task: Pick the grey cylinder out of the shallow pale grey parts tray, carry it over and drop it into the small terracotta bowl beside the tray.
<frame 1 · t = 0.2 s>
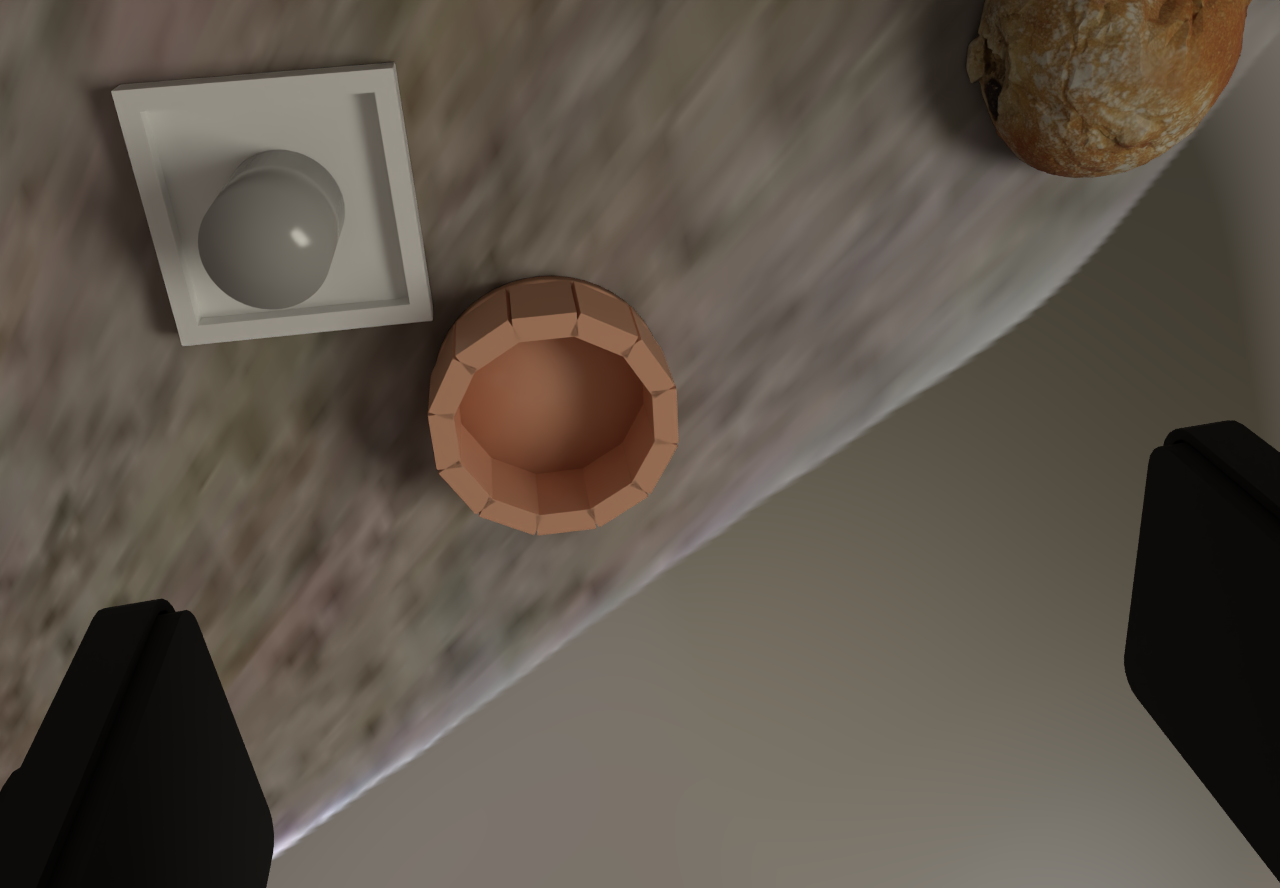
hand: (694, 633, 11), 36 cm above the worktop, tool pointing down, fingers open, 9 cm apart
parts tray: (287, 204, 44), on the worktop
bowl: (549, 383, 49), on the worktop
grey cylinder: (285, 207, 44), resting on parts tray
bread roll: (1086, 29, 45), on the worktop
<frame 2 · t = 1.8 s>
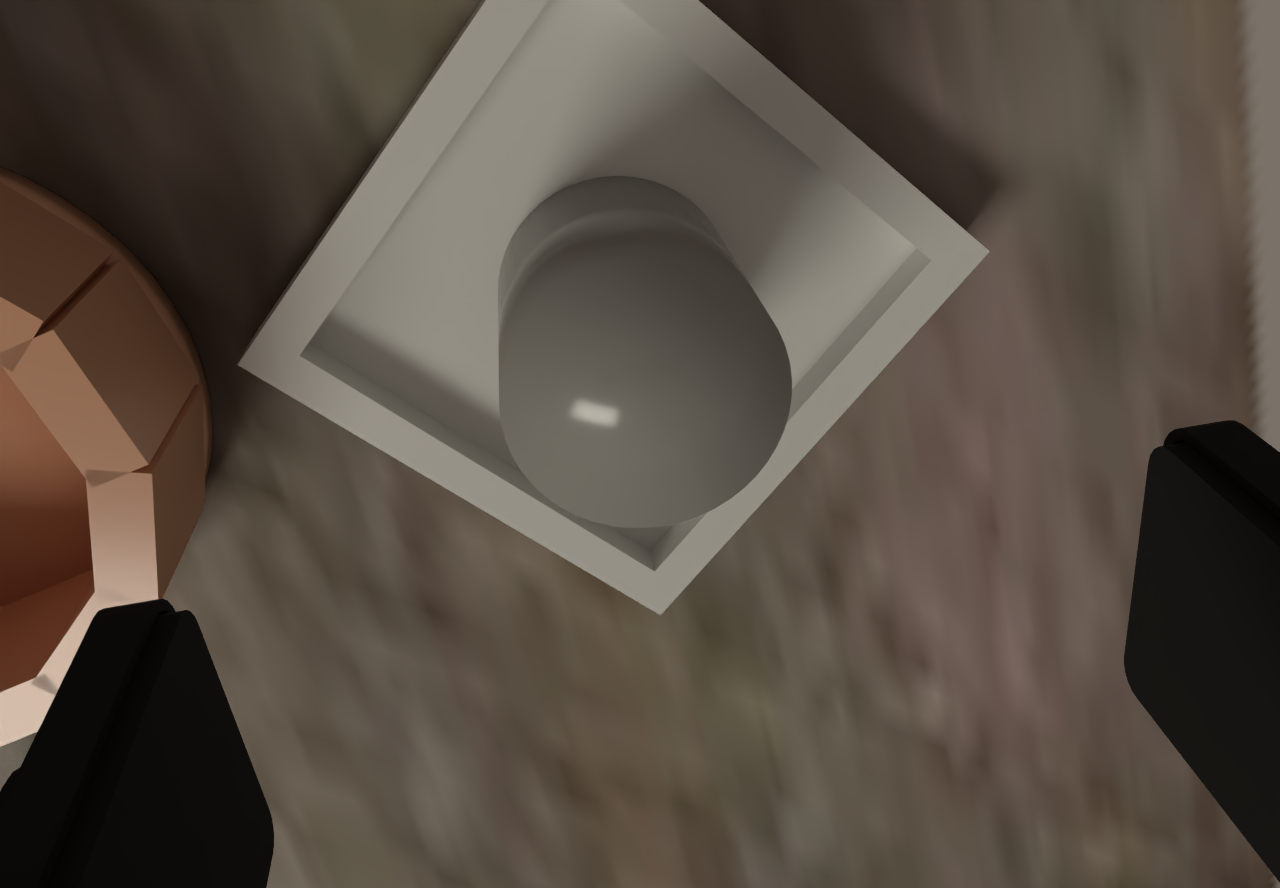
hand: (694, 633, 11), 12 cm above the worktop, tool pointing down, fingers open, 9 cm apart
parts tray: (613, 286, 22), on the worktop
grey cylinder: (615, 292, 22), resting on parts tray
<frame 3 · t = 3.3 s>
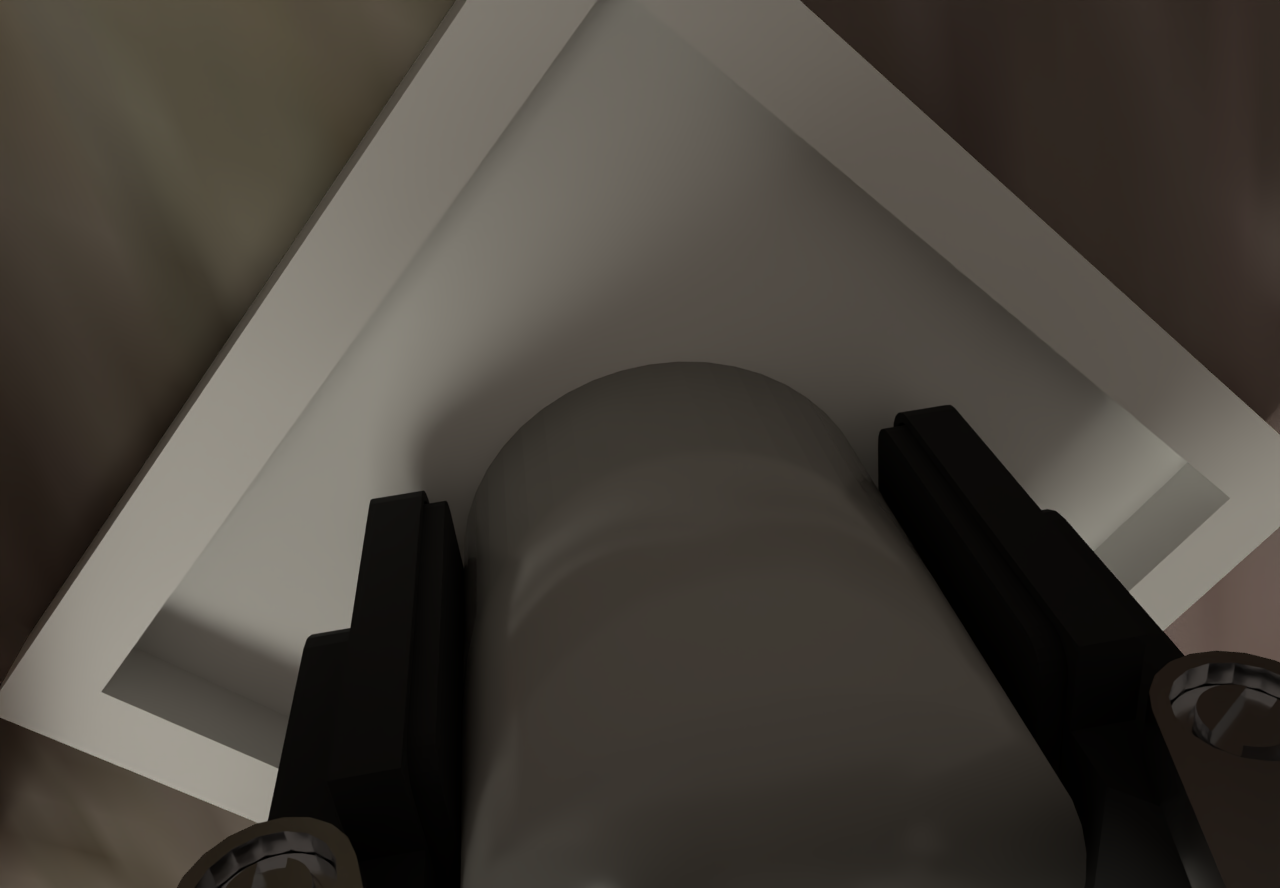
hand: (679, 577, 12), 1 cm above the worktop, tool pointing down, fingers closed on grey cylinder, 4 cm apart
parts tray: (665, 529, 13), on the worktop
grey cylinder: (671, 549, 12), resting on parts tray, touching gripper
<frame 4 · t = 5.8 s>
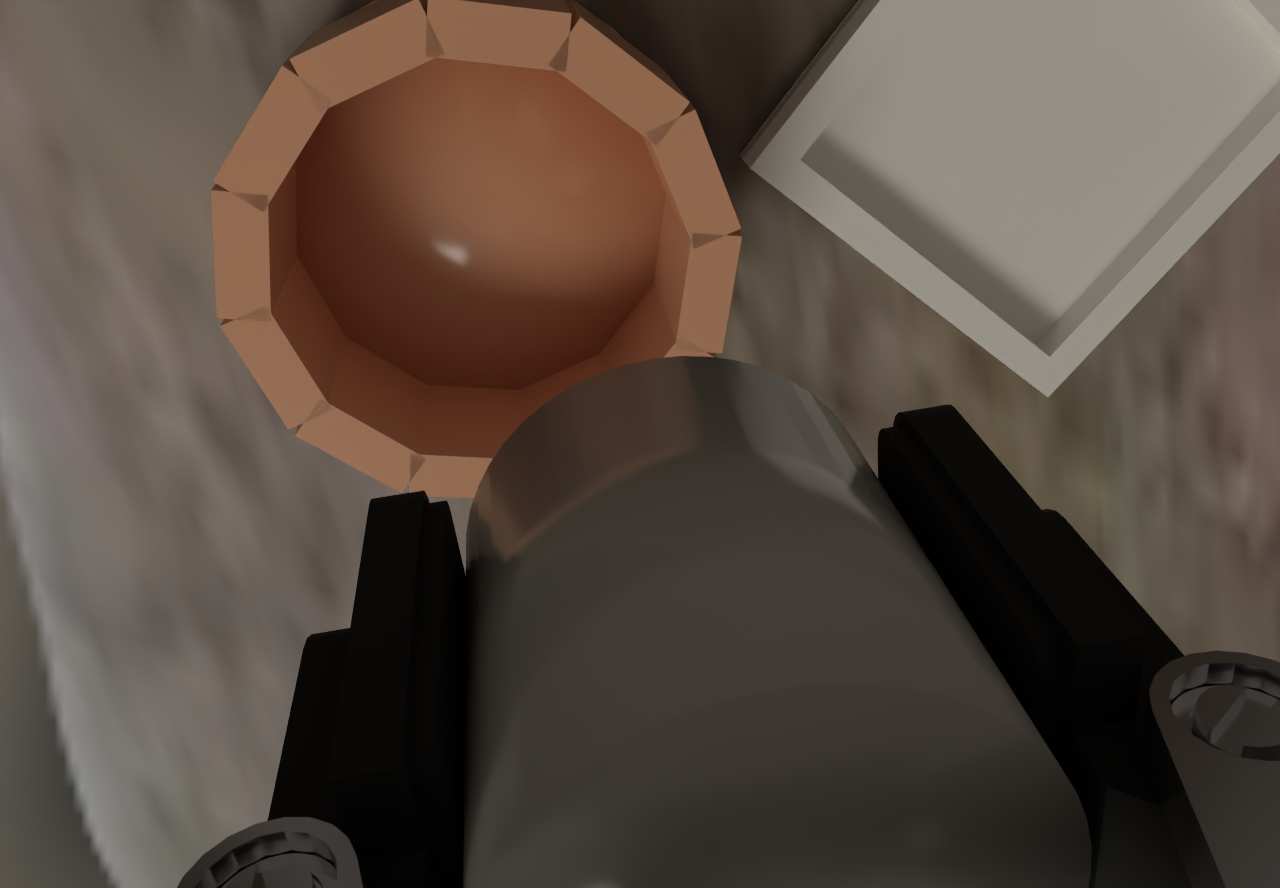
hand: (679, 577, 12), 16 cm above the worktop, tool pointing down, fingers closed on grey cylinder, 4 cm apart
parts tray: (1037, 105, 26), on the worktop
bowl: (482, 214, 26), on the worktop
grey cylinder: (673, 544, 12), point 15 cm above the worktop, touching gripper
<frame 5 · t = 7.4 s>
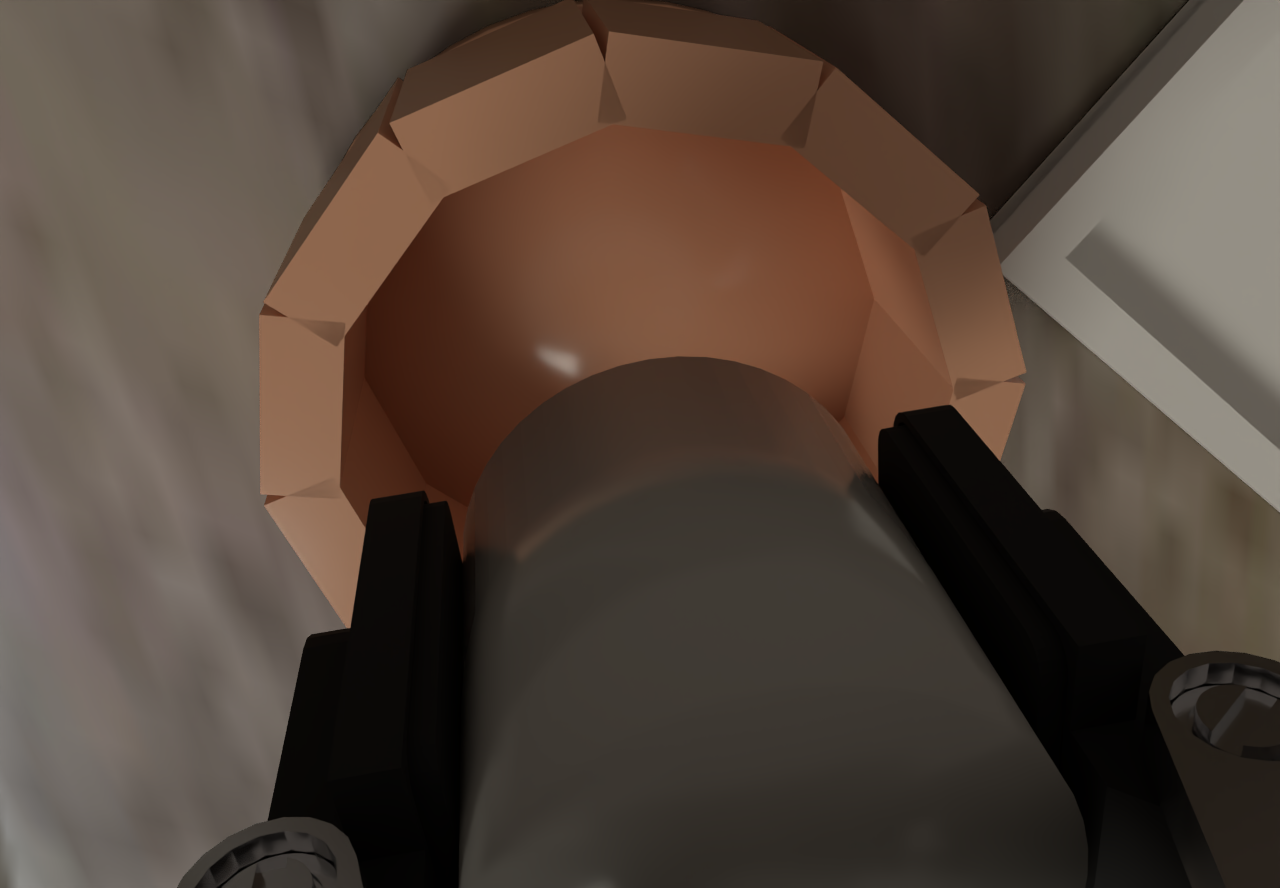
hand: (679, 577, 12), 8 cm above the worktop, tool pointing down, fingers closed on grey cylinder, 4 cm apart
bowl: (617, 318, 19), on the worktop
grey cylinder: (670, 545, 12), point 7 cm above the worktop, touching gripper
when the fingers open (5 cm above the worktop, at t = 8.6 s): grey cylinder drops 4 cm, resting on bowl.
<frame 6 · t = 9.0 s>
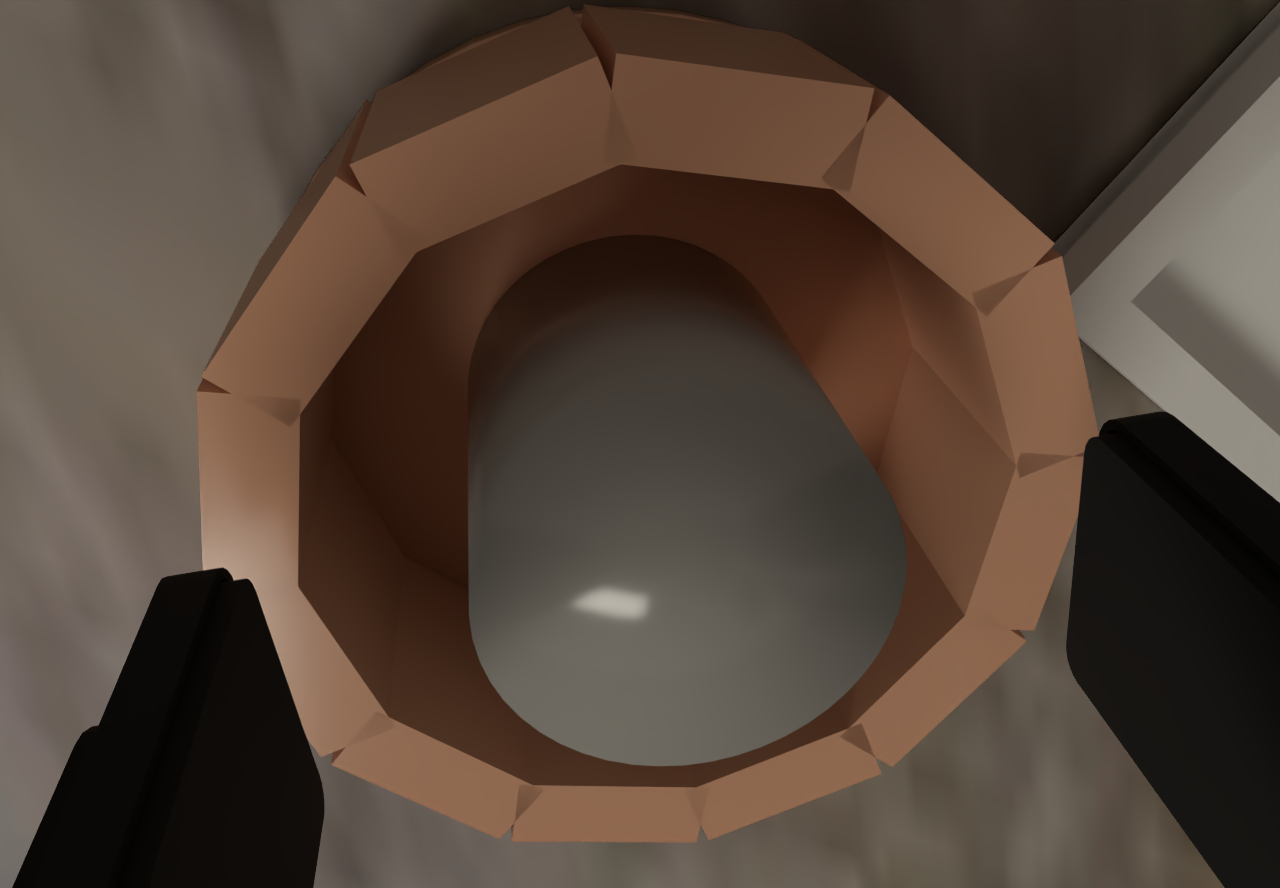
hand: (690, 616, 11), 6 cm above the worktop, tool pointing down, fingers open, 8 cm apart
bowl: (620, 368, 16), on the worktop
grey cylinder: (629, 389, 16), point 1 cm above the worktop, touching bowl
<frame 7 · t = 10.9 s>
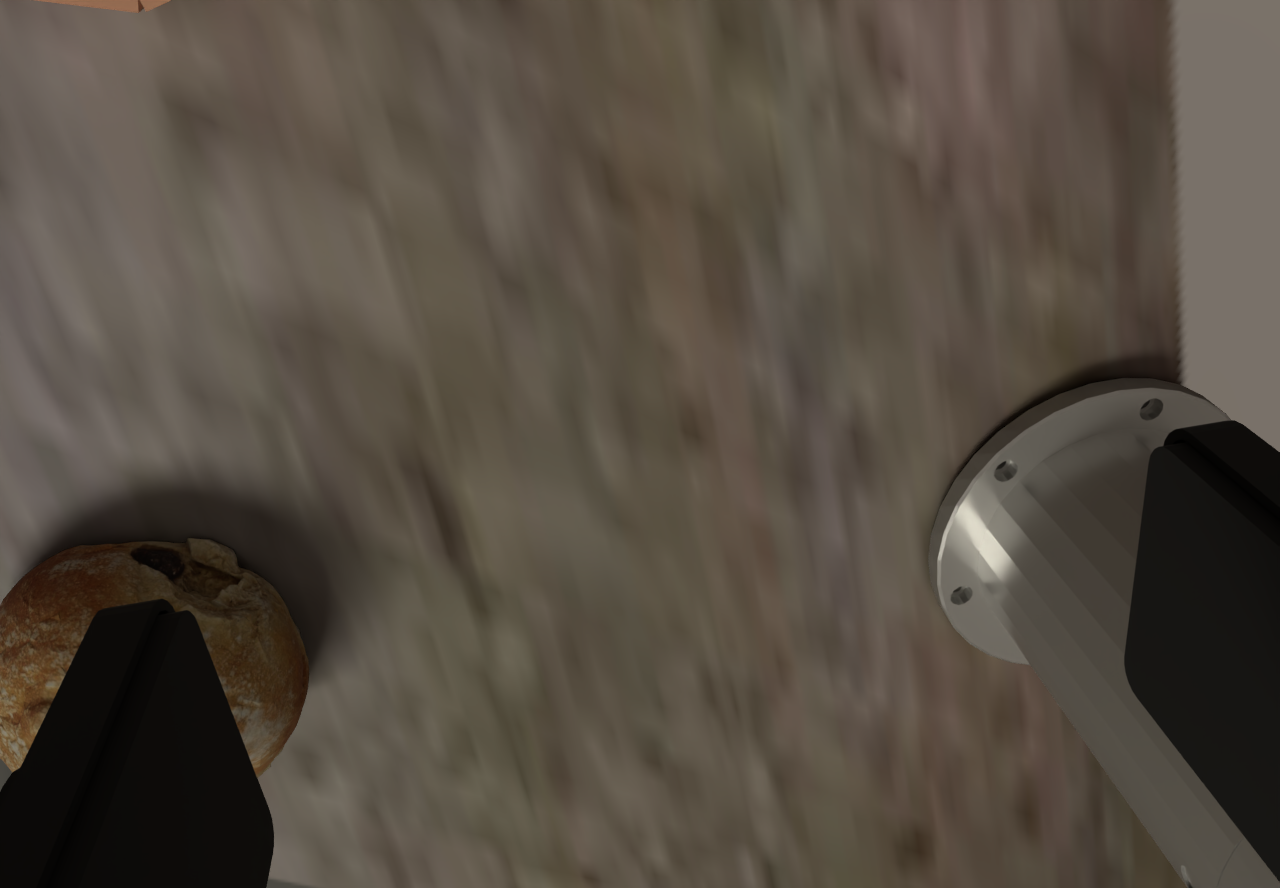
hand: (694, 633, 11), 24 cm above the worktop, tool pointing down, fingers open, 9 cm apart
bread roll: (164, 647, 39), on the worktop
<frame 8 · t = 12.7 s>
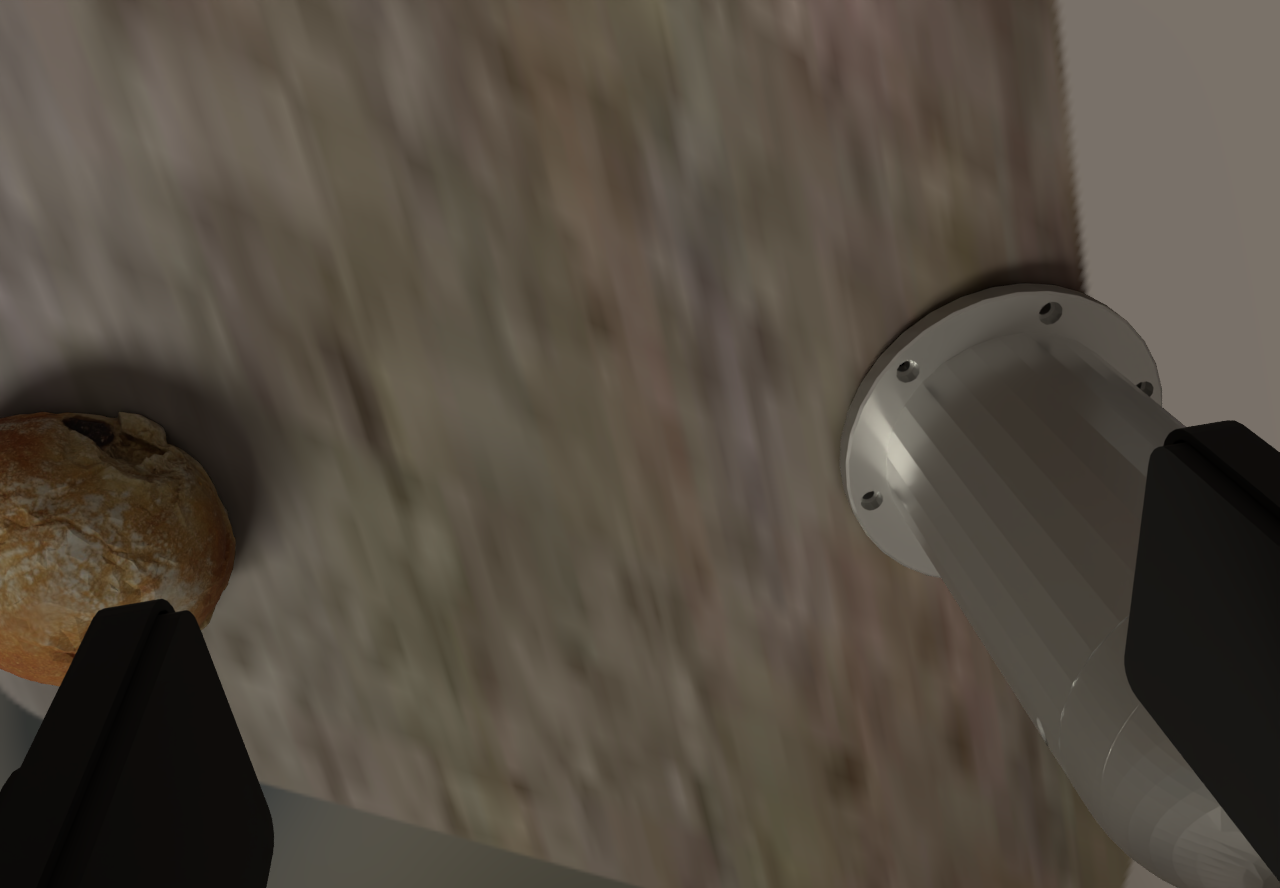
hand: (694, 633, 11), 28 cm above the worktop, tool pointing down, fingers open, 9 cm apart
bread roll: (101, 525, 41), on the worktop
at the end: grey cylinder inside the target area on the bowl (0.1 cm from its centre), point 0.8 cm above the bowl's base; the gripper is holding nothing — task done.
